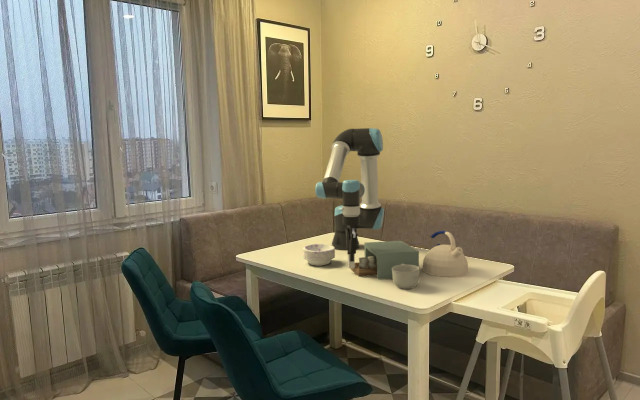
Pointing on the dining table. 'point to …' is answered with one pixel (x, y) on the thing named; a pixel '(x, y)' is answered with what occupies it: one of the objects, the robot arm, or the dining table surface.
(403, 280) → the teacup
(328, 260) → the paper bowls
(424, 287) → the dining table surface
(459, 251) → the kettle
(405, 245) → the sage green box
